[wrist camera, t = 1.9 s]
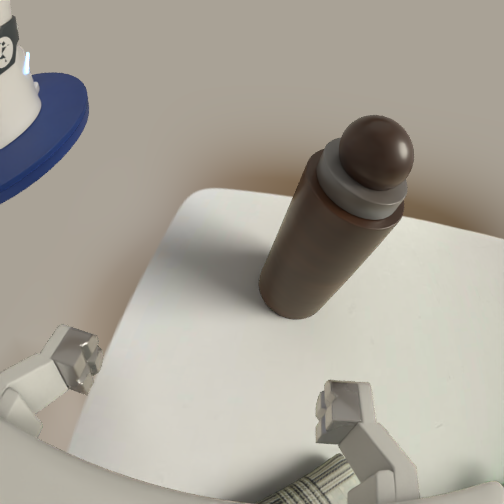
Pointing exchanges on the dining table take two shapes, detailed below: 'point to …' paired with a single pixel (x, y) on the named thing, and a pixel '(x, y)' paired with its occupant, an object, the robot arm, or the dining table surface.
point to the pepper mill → (337, 215)
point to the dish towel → (319, 485)
